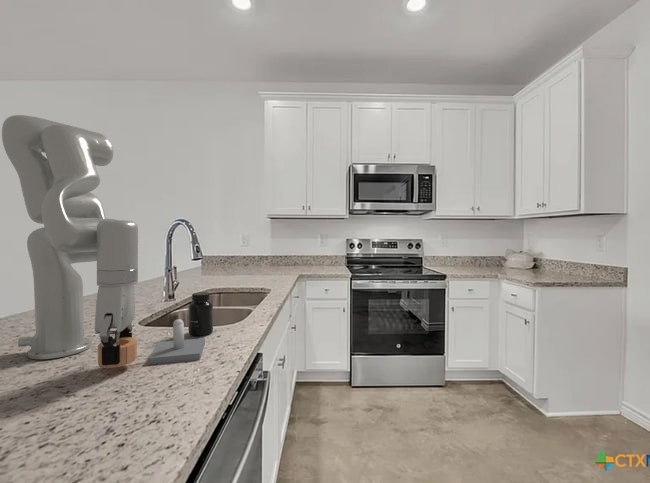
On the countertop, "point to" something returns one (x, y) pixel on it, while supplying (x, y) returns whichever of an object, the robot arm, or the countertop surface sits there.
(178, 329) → the post block
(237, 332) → the countertop surface
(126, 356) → the ring
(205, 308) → the supplement bottle
